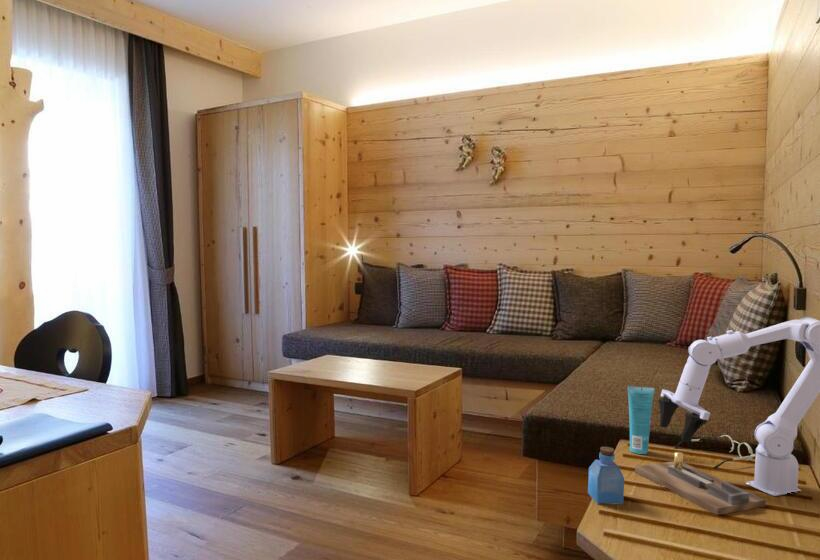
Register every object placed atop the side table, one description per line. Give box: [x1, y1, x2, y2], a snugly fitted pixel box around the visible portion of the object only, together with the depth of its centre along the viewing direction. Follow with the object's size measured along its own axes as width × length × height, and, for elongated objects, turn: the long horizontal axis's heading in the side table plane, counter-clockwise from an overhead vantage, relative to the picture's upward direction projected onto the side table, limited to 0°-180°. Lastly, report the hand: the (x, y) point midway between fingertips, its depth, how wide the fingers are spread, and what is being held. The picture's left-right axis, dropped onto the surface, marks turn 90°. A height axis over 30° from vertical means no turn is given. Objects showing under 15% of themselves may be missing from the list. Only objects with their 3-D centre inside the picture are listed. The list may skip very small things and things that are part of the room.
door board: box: [634, 460, 767, 516], centre depth 145 cm, size 15×26×4 cm, turn 20°
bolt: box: [669, 451, 713, 489], centre depth 146 cm, size 2×12×5 cm, turn 20°
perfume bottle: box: [587, 446, 625, 505], centre depth 137 cm, size 6×6×12 cm
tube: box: [627, 385, 656, 455], centre depth 169 cm, size 7×5×19 cm, turn 85°
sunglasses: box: [673, 434, 756, 469], centre depth 167 cm, size 17×15×5 cm
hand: (673, 433), depth 151 cm, fingers open, 7 cm apart
